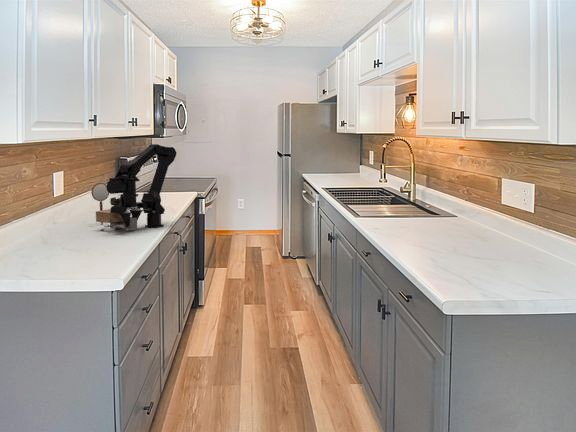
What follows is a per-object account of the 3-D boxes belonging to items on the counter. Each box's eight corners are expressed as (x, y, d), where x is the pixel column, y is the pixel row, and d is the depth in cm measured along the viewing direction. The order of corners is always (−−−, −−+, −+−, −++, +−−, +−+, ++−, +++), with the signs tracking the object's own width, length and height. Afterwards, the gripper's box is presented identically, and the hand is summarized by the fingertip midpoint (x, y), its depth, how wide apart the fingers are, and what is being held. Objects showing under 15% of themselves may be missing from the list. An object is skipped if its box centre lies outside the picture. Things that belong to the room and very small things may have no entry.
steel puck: (109, 229, 247) (109, 224, 246) (118, 230, 244) (117, 225, 244) (101, 231, 242) (101, 226, 242) (110, 232, 240) (109, 227, 240)
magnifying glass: (109, 223, 263) (108, 182, 259) (111, 223, 261) (109, 182, 258) (92, 225, 257) (90, 183, 254) (93, 225, 256) (91, 183, 252)
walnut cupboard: (113, 226, 253) (112, 208, 252) (126, 228, 250) (125, 209, 249) (96, 230, 244) (95, 211, 243) (109, 231, 240) (108, 212, 239)
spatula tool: (115, 226, 250) (114, 215, 249) (137, 228, 244) (136, 217, 243) (108, 227, 246) (108, 216, 245) (131, 229, 240) (130, 218, 240)
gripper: (129, 189, 252) (131, 222, 255) (100, 192, 236) (101, 228, 238) (148, 190, 248) (149, 224, 250) (119, 194, 231) (121, 230, 233)
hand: (130, 226), depth 243 cm, fingers closed on spatula tool, 4 cm apart
